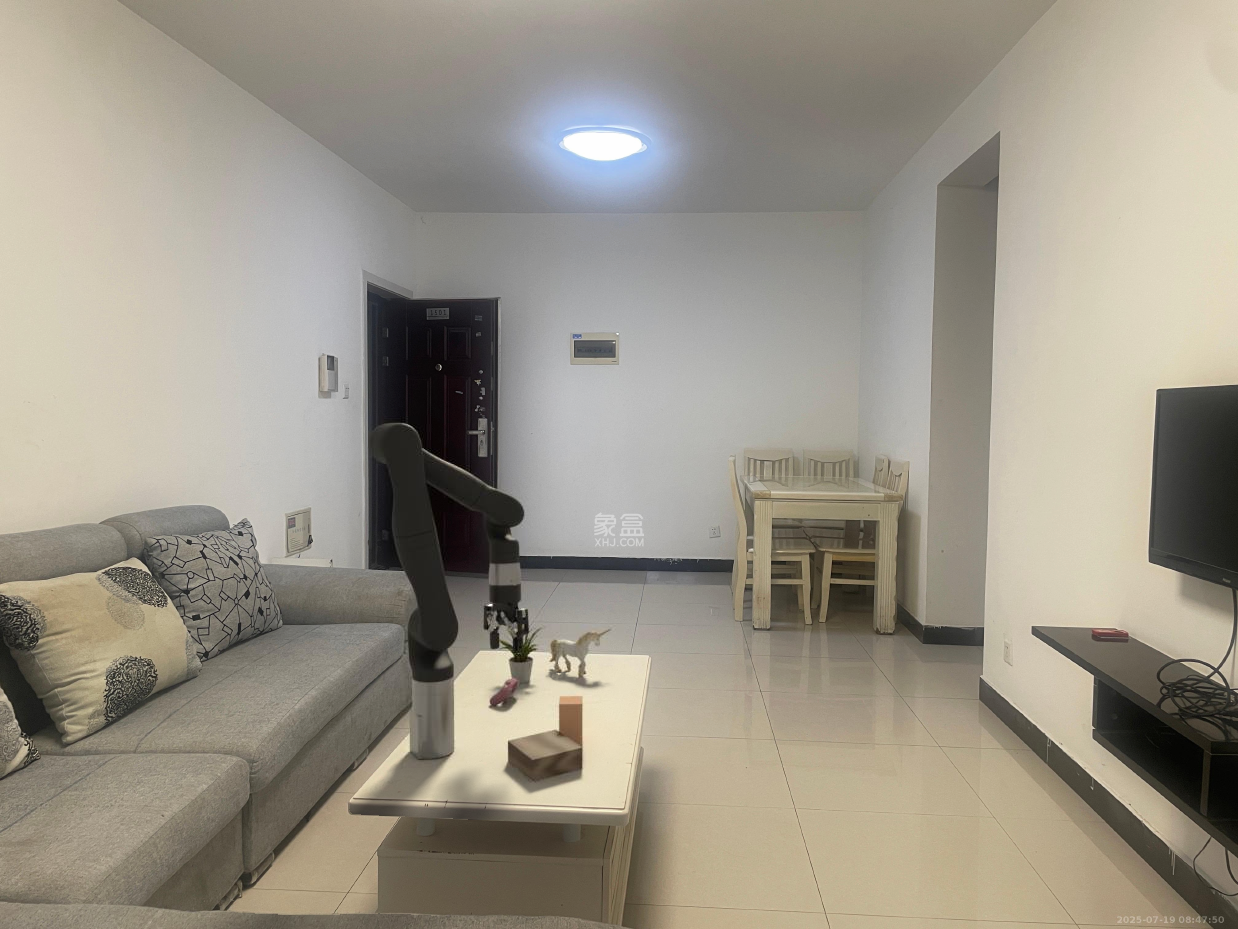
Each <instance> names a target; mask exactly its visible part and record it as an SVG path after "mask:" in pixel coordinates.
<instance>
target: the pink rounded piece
mask: <svg viewBox="0 0 1238 929" xmlns="http://www.w3.org/2000/svg"><path fill="white" fill-rule="evenodd" d="M520 684H521V683H520V681H518V680H517V679H513V678H512V677H511V678H509V679H507V680H505V681H504V683H503V686H502V687H501V688H500V689H499V691H497V692H496V693H495V694H494V695H493V696H491V697H490V699H489V704H490V706H493V705H494V706H497V705H500V704H501V703H504V704H507V702H508V701H509V700H510V699H511V698H513V696H514V693H515V692H516V690H517V689H518V687H519V685H520Z"/></svg>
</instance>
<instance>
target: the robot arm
mask: <svg viewBox="0 0 1238 929" xmlns="http://www.w3.org/2000/svg"><path fill="white" fill-rule="evenodd" d="M368 449H369V451H370V454H371V455H372V457H374V459H376V460H377V461H378V462H379V463H382V464H384V465H386V467H387V470H388V473H389V478H390V480H391V485H392V491H393V501H392V502H393V504H392V515H391V530H392V536H393V540H394V541H393V542H394V545H395V549H396V553H397V556H398V559H399V562H400V565H401V567H402V569H403V571H404V573H405V575H406V577H407V579H408V581H409V583H410V585H411V587H412V589H413V593H414V596H415V598H416V604H417V605H416V606H417V607H416V608H415V609H414V610H413V611H412V613H411V615H410V617H409V619H408V624H407V647H408V649H407V651H408V661H409V666H410V669H411V680H412V681H411V683H412V684H411V685H412V686H411V690H412V691H411V698H412V701H411V702H412V707H411V709H409V751H410V752H411V753H412V754H413V755H414V757H415V758H416V759H417V760H422V759H425V760H428V759H429V760H430V759H431V760H432V759H437V758H438V759H439V758H444V757H447V756H449V755H451V754H452V753H453V752H454V751H455V666H454V663H453V662H454V661H453V660H452V658H451V656H450V653H449V651H448V650H449V649H450V648H451V646H453V644H454V643H455V642H456V640H457V637H458V634H459V621H458V620H459V619H458V617H457V614H456V611H455V608H454V604H453V602H452V600H451V596H450V592H449V589H448V586H447V581H446V575H445V568H444V565H443V559H442V558H443V557H442V553H441V547H440V541H439V537H438V531H437V527H436V523H435V518H434V514H433V510H432V505H431V500H430V499H431V498H430V495H429V491H428V487H427V484H429V485H430V486H431V487H433V488H435V489H437V490H438V491H440V492H441V493H443V494H445V495H446V496H448V497H449V498H451V499H452V500H453V501H455V502H456V503H459V504H460V505H462V506H464V507H465V508H467V509H469V510H471V511H474V512H479V513H482V514H483V523H484V527H485V532H486V538H487V541H488V544H489V569H488V597H489V599H488V600H489V602H490V604H486V605H484V606H483V629H484V631H487V633H488V634H489V646H490V649H491V650H499V649H500V641H499V639H500V629H501V628H502V627H503V626H504V627H507V628H506V629H507V630H509V631H511V633H512V635H513V637H514V638H512V642H513V643H512V646H513V653H514V654H519V653H521V652H522V649H523V645H524V643H523V642H524V641H523V642H522V638H523V639H524V637H525V636H526V634H528V635H529V634H530V632H529V631H530V626H529V625H530V624H529V610H528V608H520V607H519V603H520V602H521V601H522V572H521V565H520V564H521V563H520V544H519V541H518V540H517V538H515V537H514V536H513V535H512V528H515V527H517V526H519V525H521V524H522V522H523V520H524V518H525V509H524V505H522V503H521V502H520V500H518V499H517V498H516V497H514V496H512V495H510V494H508V493H506V492H505V491H504V492H503V491H502V490H499V489H497V488H494V487H492V486H490V485H488V484H487V483H485V482H484V481H483V480H481V479H480V478H478V477H476V476H475V475H474V474H472V473H470V472H468V471H467V470H464V469H463V468H461V467H459V466H457V465H455V464H452V463H451V462H448V461H445V460H444V459H441V458H440V457H438V456H436V455H434V454H432V453H430V452H429V451H428V450H426V449H424V448H423V444H422V440H421V438H420V435H419V433H418V431H417V430H416V428H414V427H413V426H411V425H409V424H407V423H403V422H392V423H391V422H389V423H383V424H381V425H378V426H377V427H376V428H374V429H373V430H372V432H371V433H370V434H369V437H368ZM522 625H524V630H523V629H522ZM511 633H510V634H511Z"/></svg>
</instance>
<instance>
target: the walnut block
mask: <svg viewBox="0 0 1238 929" xmlns="http://www.w3.org/2000/svg"><path fill="white" fill-rule="evenodd" d="M507 762H508V763H509V764H510V765H512V767H514V768H515V767H516V768H517V771H519V772H520V773H521V772H522V773H523V774H522V773H521V774H522V775H523V776H524V777H526V776H527V777H528V778H527V777H526V778H527V779H528V780H530V779H531V780H532V781H534V782H537V781H536V780H538V781H541V780H540V779H542V780H545V779H548V777H549V778H553V777H556V775H557V776H560V775H563V774H567V773H570V772H575V771H579V770H581V769H582V770H583V746H582V747H581V746H580V745H578V744H577V743H575V742H574V741H572V740H571V739H569V738H568V737H566V736H565V735H563V734H562V733H560V732H559V730H557V729H552V730H547V731H543V732H539V733H535V734H532V735H531V734H530V735H527V736H522V737H518V738H513V739H510V740H508V741H507ZM516 768H515V769H516ZM552 776H553V777H552ZM544 778H545V779H544ZM531 780H530V781H531ZM532 781H531V782H532Z"/></svg>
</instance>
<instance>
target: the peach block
mask: <svg viewBox="0 0 1238 929" xmlns="http://www.w3.org/2000/svg"><path fill="white" fill-rule="evenodd" d="M583 709H584V708H583V695H575V696H574V695H573V696H572V695H571V696H570V695H565V696H563V695H561V696H560V695H559V700H558V731H559V732H560V733H562V734H563V735H565V736H566V737H568V738H569V739H571V740H572V741H574V742H575V743H577V744H578V745H580V746H581V747H582V748H583Z"/></svg>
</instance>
